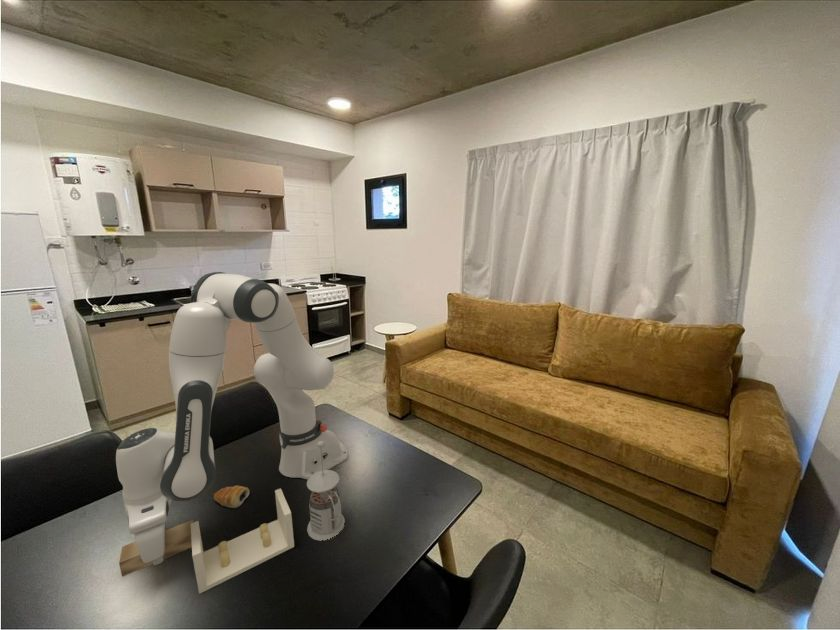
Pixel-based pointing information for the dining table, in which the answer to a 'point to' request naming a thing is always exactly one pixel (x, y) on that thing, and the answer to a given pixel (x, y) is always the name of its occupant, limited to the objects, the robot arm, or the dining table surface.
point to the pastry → (231, 496)
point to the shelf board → (174, 543)
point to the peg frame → (242, 548)
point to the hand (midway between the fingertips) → (159, 546)
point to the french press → (324, 504)
